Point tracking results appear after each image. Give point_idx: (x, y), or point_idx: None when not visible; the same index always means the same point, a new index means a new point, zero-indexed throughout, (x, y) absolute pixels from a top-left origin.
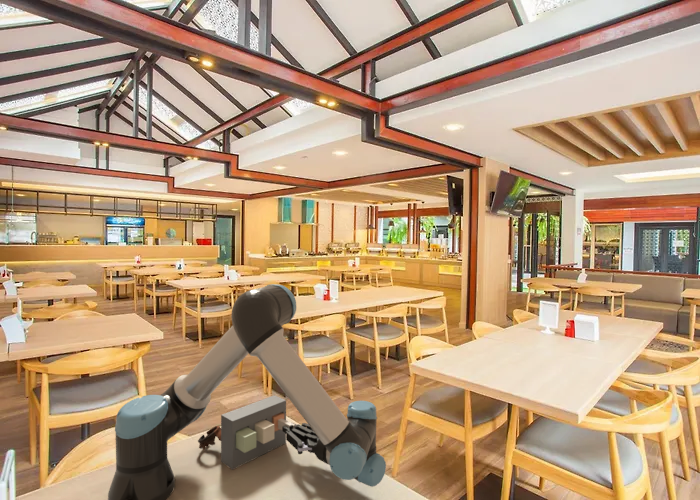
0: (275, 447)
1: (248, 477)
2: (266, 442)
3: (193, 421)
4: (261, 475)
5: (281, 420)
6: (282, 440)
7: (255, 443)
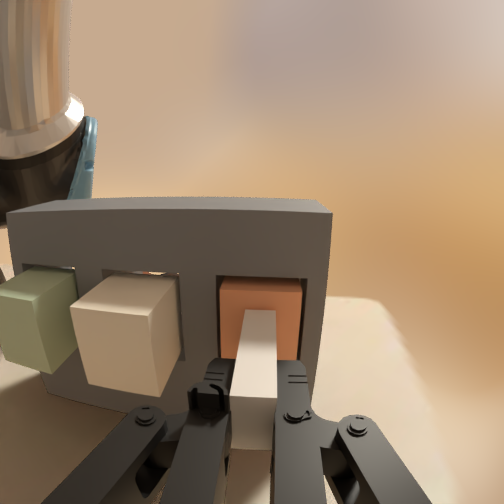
0: None
1: (15, 448)
2: (106, 387)
3: None
4: (35, 483)
5: (253, 320)
6: None
7: (42, 354)
